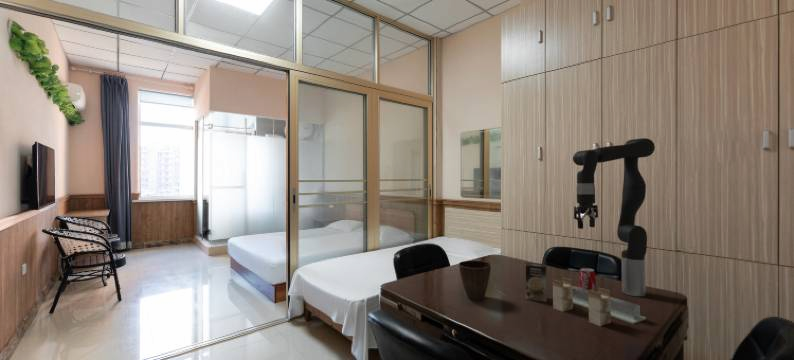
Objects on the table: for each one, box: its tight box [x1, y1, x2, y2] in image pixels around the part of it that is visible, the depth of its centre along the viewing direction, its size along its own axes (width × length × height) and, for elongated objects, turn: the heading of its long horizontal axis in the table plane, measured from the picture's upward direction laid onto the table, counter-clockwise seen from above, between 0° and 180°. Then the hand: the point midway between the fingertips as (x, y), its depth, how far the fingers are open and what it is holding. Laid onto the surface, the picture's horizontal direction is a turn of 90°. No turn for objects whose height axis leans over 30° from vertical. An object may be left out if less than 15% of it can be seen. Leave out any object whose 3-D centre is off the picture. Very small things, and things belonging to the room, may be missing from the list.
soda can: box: [578, 267, 597, 292], centre depth 160 cm, size 7×7×12 cm
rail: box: [572, 285, 641, 320], centre depth 143 cm, size 4×28×5 cm, turn 27°
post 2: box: [588, 287, 612, 327], centre depth 129 cm, size 7×4×12 cm, turn 117°
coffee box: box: [525, 262, 548, 303], centre depth 156 cm, size 9×6×16 cm
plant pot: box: [458, 260, 492, 301], centre depth 158 cm, size 15×15×16 cm
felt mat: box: [573, 300, 647, 324], centre depth 143 cm, size 9×30×1 cm, turn 27°
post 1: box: [552, 277, 574, 313], centre depth 143 cm, size 7×4×12 cm, turn 117°
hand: (586, 227), depth 154 cm, fingers open, 8 cm apart
